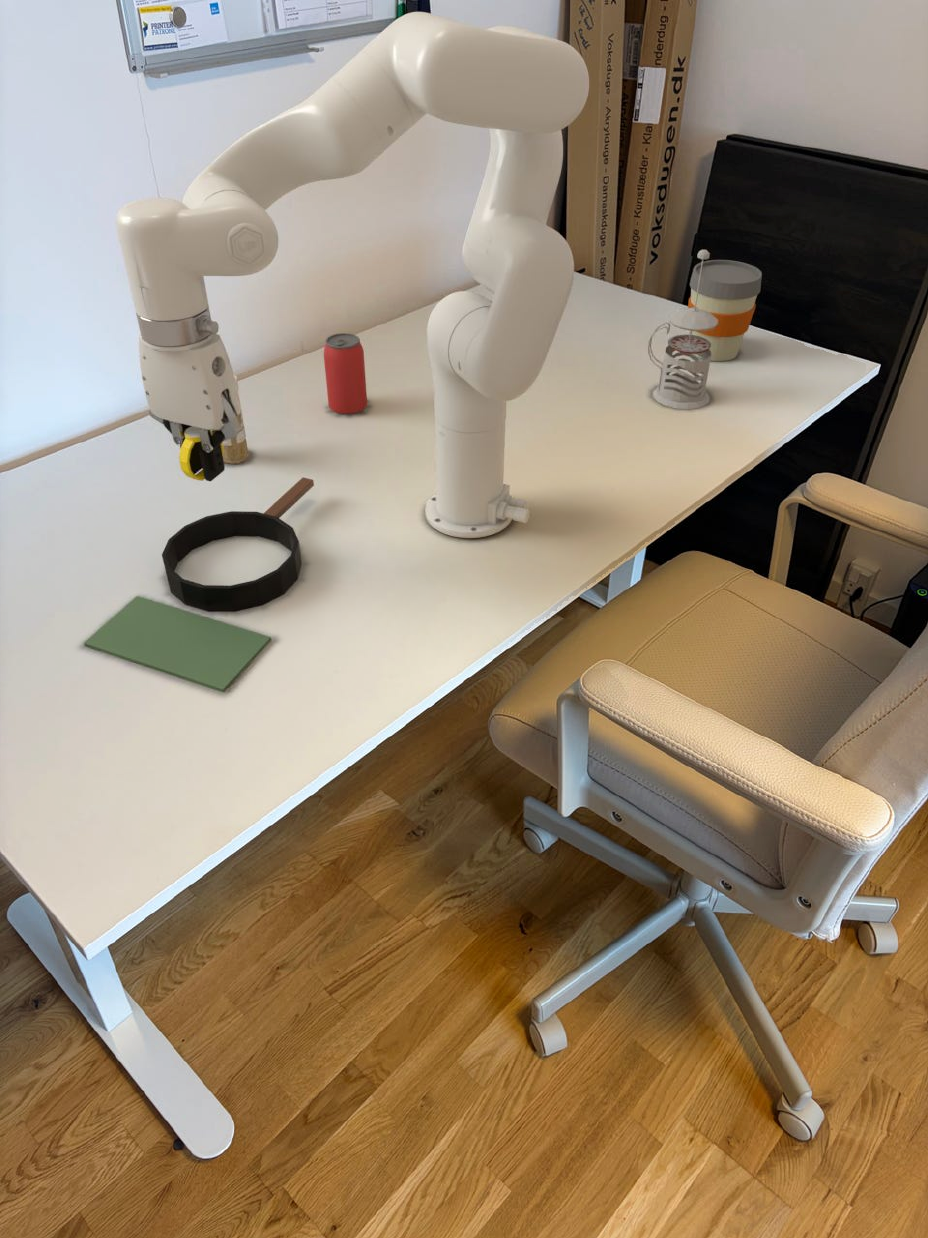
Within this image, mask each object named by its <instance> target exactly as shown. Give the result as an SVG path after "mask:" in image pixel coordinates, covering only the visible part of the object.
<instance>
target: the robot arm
mask: <svg viewBox="0 0 928 1238" xmlns="http://www.w3.org/2000/svg"><path fill="white" fill-rule="evenodd" d="M589 90H590V76H589V71H588V67H587V65H586V62H585V60H584V59H583V57H582V55H581V53H580V52H578V51H577V49H576V48H575V47H574V46H572V45H570V44H569V43H567V42H566V41H563V40H560V39H557V38H553V37H551V36H547V35H544V34H540V33H537V32H535V31H532V30H529V29H526V28H521V27H517V26H512V25H495V26H492V27H489V28H487V29H485V28H481V27H477V26H473V25H469V24H466V23H461V22H459V21H456V20H453V19H449V18H446V17H443V16H440V15H436V14H433V13H431V12H425V11H412V12H408V13H406V14H403V15H402V16H400V17H398V18H396V19H395V20H394V21H392V22H391V23H390V24H389V25H388V26H387V27H386V28H384V29H383V30H382V31H381V32H379V34H378V35H376V36H375V37H374V38H373V39H372V40H371V41H370V42H369V43H367V44H366V45H365V46H364V47H363V48H362V49H360V51H358V53H356V55H354V56H353V57H352V58H351V59H350V60H349V61H348V62H347V63H346V64H344V65H343V66H342V67H341V68H340V69H339V70H338V71H337V72H336V73H335V74H333V75H332V76H331V77H330V78H329V79H328V80H327V81H325V83H323V84H322V85H321V86H320V87H319V88H318V89H316V90H315V92H313V93H312V94H311V95H310V96H309V97H307V98H306V99H305V100H303V101H302V102H301V103H298V104H296V105H295V106H293V107H290V108H289V109H286V110H285V111H283V112H281V113H280V114H278V115H277V116H274V117H273V118H271V119H269V120H267V121H266V122H264V123H262V124H261V125H258V126H256V127H255V128H253V129H251V130H250V131H248V132H247V133H245V134H244V135H242V136H241V137H240V138H238V139H237V140H236V141H234V142H233V143H232V144H230V146H229V147H227V148H226V149H225V150H224V151H222V152H221V153H220V154H219V155H218V156H217V157H216V158H215V159H214V160H213V161H212V162H211V163H209V164H208V165H207V167H205V168H204V169H203V170H201V172H200V173H199V174H198V175H197V176H196V177H195V178H194V179H193V180H192V182H191V183H190V184H189V186H188V188H187V190H186V191H185V193H184V195H183V198H182V201H179V200H176V199H172V198H166V197H152V198H151V197H150V198H142V199H137V200H134V201H131V202H129V203H127V204H124V205H123V206H122V207H121V208H120V209H119V210H118V212H117V214H116V218H115V225H116V231H117V236H118V240H119V244H120V249H121V254H122V258H123V262H124V267H125V271H126V276H127V279H128V284H129V288H130V293H131V297H132V301H133V305H134V309H135V310H134V311H135V313H136V314H135V315H136V319H137V323H138V328H139V332H140V335H139V336H138V357H139V366H140V374H141V381H142V386H143V391H144V396H145V399H146V403H147V406H148V408H149V412H148V413H149V416H150V417H151V418H152V419H154V420H155V421H157V422H158V423H160V424H161V425H163V427H165V429H166V430H167V431H168V432H169V433H170V434H171V436H172V439H173V442H174V444H175V445H177V446H179V448H180V449H181V446H182V444H183V442H184V440H185V435H184V432H185V430H186V429H187V428H189V427H192V426H194V427H198V429H199V434H200V439H201V442H195V444H194V446H193V448H192V450H191V454H190V460H189V462H190V467H191V471H192V472H193V473H194V474H195V475H196V474H197V473H199V472H200V471H201V470H203V473H204V478H205V479H204V480H205V481H206V482H212V481H213V480H215V478H217V477H219V476H220V475H221V474H222V473H224V471H225V470H226V467H225V462H224V460H223V455H222V450H221V443H222V442H224V440H225V439H226V440H227V439H231V438H235V437H237V436H238V435H239V434H241V433H242V432H243V429H242V427H241V425H240V423H239V421H238V419H237V417H236V416H238V415H239V414H240V413H241V411H242V407H241V400H240V395H239V389H238V390H237V385H236V381H235V377H234V375H235V374H234V370H233V367H232V364H231V361H230V360H231V359H230V357H229V354H228V351H227V349H226V347H225V344H224V342H223V339H222V338H221V335H220V334H218V333H219V329H220V328H219V327H220V326H219V323H218V321H214V320H212V317H211V311H210V305H209V300H208V295H207V289H206V284H205V283H206V282H205V278H204V277H242V276H243V277H244V276H251V275H254V274H256V273H259V272H261V271H263V270H264V269H266V268H267V267H268V266H269V265H270V264H271V263H272V262H273V260H274V258H275V257H276V254H277V252H278V248H279V234H278V230H277V226H276V224H275V221H273V219H272V217H271V216H270V215H269V213H268V212H267V209H268V208H270V207H271V206H272V205H274V204H275V203H276V202H277V201H278V200H279V199H281V198H282V197H284V196H285V195H287V194H288V193H291V192H292V191H294V190H296V189H298V188H301V187H302V186H305V185H308V184H311V183H314V182H319V181H328V180H329V181H330V180H336V179H338V180H339V179H344V178H349V177H351V176H354V175H358V174H360V173H362V172H363V171H365V169H367V168H368V167H369V166H370V165H371V164H372V163H373V162H374V161H375V160H376V159H377V158H378V157H380V156H381V155H382V154H383V153H384V152H385V151H386V150H387V149H388V148H389V147H391V146H392V145H393V144H394V143H395V142H396V141H397V140H399V139H400V138H401V137H402V136H403V135H404V134H405V133H406V132H407V131H408V130H410V128H412V127H413V126H414V125H416V123H418V122H419V121H420V120H421V119H422V118H423V117H425V116H426V115H427V114H428V115H430V116H432V117H434V118H437V119H439V120H442V121H444V122H448V123H453V124H457V125H463V126H470V127H475V128H480V129H481V128H482V129H489V137H490V139H489V140H490V146H489V147H490V148H489V154H488V155H489V156H488V161H487V164H486V168H485V172H484V177H483V180H482V183H481V186H480V190H479V193H478V195H477V199H476V202H475V205H474V208H473V211H472V215H471V218H470V221H469V224H468V227H467V230H466V233H465V237H464V240H463V245H462V251H461V255H462V256H461V260H462V263H463V266H464V268H465V270H466V272H467V274H469V276H470V277H471V278H472V279H473V280H474V281H476V282H477V283H478V284H480V285H481V286H482V287H484V288H485V289H486V290H488V291H489V292H491V293H492V294H493V297H492V300H491V299H490V298H487V297H486V296H484V295H482V294H480V293H477V292H473V291H469V290H461V291H455V292H452V293H450V294H447V295H446V296H444V297H443V298H442V299H441V300H439V301H438V302H437V303H436V305H435V306H434V308H433V309H432V311H431V313H430V315H429V318H428V322H427V326H426V346H427V354H428V359H429V363H430V364H429V365H430V370H431V377H432V385H433V407H434V408H433V409H434V416H433V417H434V420H433V421H434V424H433V425H434V466H435V467H434V469H435V471H434V473H435V492H434V494H433V495H431V496H430V497H429V499H428V500H427V501H426V503H425V509H424V510H425V512H424V513H425V518H426V520H427V523H428V524H429V525H430V526H431V527H432V528H434V529H435V530H436V531H437V532H440V533H442V534H444V535H447V536H449V537H450V536H451V537H455V538H461V539H462V538H463V539H478V538H485V537H488V536H489V537H490V536H492V535H495V534H497V533H500V532H501V531H503V530H504V529H506V528H507V527H509V525H510V524H511V523H512V521H516V522H520V523H522V524H523V523H524V524H527V523H528V521H529V518H530V515H531V514H530V513H531V512H530V509H528V508H527V507H528V500H525V499H521V498H516V497H515V498H514V497H513V495H511V494H510V493H511V492H510V490H511V489H510V488H511V485H509V484H507V483H504V477H505V476H504V473H505V472H504V471H505V445H506V417H507V402H510V401H513V400H515V399H517V398H519V397H521V396H522V395H524V394H525V393H526V392H527V391H528V390H529V389H530V388H531V387H532V385H533V384H534V383H535V382H536V380H537V378H538V377H539V375H540V373H541V371H542V369H543V367H544V364H545V361H546V359H547V357H548V354H549V352H550V349H551V346H552V345H553V341H554V338H555V335H556V333H557V331H558V328H559V325H560V322H561V320H562V317H563V315H564V313H565V309H566V306H567V304H568V301H569V298H570V295H571V293H572V288H573V285H574V280H575V259H574V255H573V252H572V249H571V246H570V245H569V243H568V241H567V240H566V238H564V237H563V235H561V234H560V232H558V231H557V230H555V228H552V227H551V226H549V225H547V222H548V218H549V216H550V215H549V214H550V213H551V212H550V211H551V208H552V205H553V201H554V198H555V195H556V191H557V188H558V185H559V182H560V177H561V173H562V168H563V161H564V141H563V134H562V130H563V129H565V128H566V127H568V126H570V125H571V124H572V123H573V122H574V121H575V120H577V118H578V117H579V115H580V114H581V113H582V111H583V109H584V107H585V105H586V103H587V99H588V96H589ZM221 421H222V422H221ZM222 423H223V424H224V426H222ZM210 431H212V433H213V435H212V436H211V432H210Z"/></svg>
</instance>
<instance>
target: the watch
mask: <svg viewBox="0 0 928 1238" xmlns="http://www.w3.org/2000/svg"><path fill="white" fill-rule="evenodd" d="M210 432H211V436H212V435H213V433H212V430H211V431H210ZM184 435H185V440H184V442H183V444H182V446H181V449H180V450H179V455H178V456H179V457H178V458H179V459H178V461H179V465H180V470H181V472H183V474H184V475H185V476H186V477H188V478H190V479H193V480H196V481H201V482H202V481H204V480H205V478H204V473H203V469H201V470H200V471H198V472H197V473H196V474H194V473H193V472H192V471H191V467H190V462H189V460H190V454H191V450H192V448H193V446H194V444H195V442H201V439H200V434H199V429H198V427H194V426H192V427H189V428H187V429H186V430H185V432H184ZM223 449H224V448H223V443H221V450H222V455H223Z"/></svg>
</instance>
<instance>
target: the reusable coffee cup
mask: <svg viewBox="0 0 928 1238" xmlns="http://www.w3.org/2000/svg"><path fill="white" fill-rule="evenodd" d="M701 263H702V261H701V262H698V263H697V264H695V266H694V267H693V269H692V273H691V277H690V282H689V287H690V297H688V305H687V306H688V307H687V308H695V301H696V295H697V289H698V282H699V276H700V270H701ZM762 275H763V273H762V271H761V270H760V269H759V268H758V267H756V266H754V265H753V264H749V263H746V262H741V261H737V260H730V259H712V260H706V261H703V266H702V272H701V278H700V284H699V291H698V297H697V303H696V308H698V309H703V310H705V311H708V312H710V313H711V314H712V315H713V316H714V317H716V318H717V319H718V324H717V325H716V326H715V327H714V328H713V329H711V330H708V331H692V334H693V335H695V336H696V335H697V336H699V337H702V338H705V339H707V340H708V341H709V342H710V343H711V347H710V348H709V350H710V351H711V359H710V362H725V361H730V360H733V359H735V358H737V356H738V354H739V351H740V348H741V345H742V342H743V339H744V335H745V333H747V332H748V330H749V328H750V325H751V323H752V319H753V316H754V313H755V310H756V299H757V297H758V295H759V294H760V292H761V290H762V289H761V286H762V278H763V277H762ZM690 333H691V331H689V334H690ZM692 355H694V356H695V357H696V358H698V359H701V360H704V359H703V358H701V357H700V356H699V355H697V354H692Z"/></svg>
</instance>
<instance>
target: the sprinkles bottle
mask: <svg viewBox="0 0 928 1238" xmlns="http://www.w3.org/2000/svg"><path fill="white" fill-rule="evenodd" d="M234 377H235V381H236V385H237V390H238V391H239V380H238V377H237V375H236V374H234ZM242 411H243V410H241V413H240V414H239V415H238V416H236V417H237V419H238V421H239V423H240V425H241V427H242V429H243V432H242V433H241V434H239V435H238V436H237V437H235V438H231V439H227V440H226V439H225V440H224V442H222V443H223V448H224V449H223V460H224V463H226V464H232V465H234V464H240V463H243V462H245V461H246V460H248V459H249V457H250V451H249V448H248V441H247V435H246V428H245V423H244V418H243V412H242ZM221 422H222V421H221ZM222 426H224V424H223V423H222Z"/></svg>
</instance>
